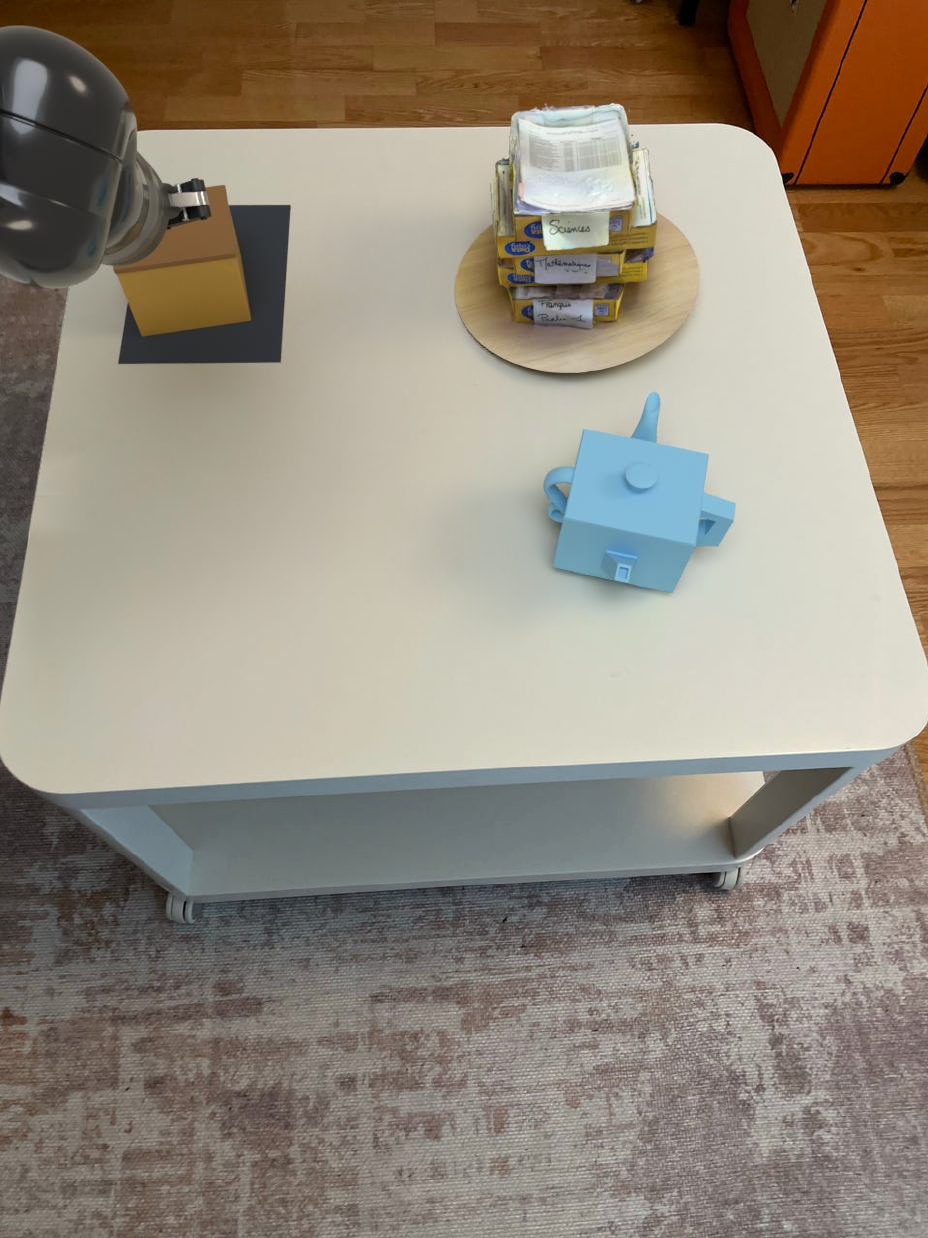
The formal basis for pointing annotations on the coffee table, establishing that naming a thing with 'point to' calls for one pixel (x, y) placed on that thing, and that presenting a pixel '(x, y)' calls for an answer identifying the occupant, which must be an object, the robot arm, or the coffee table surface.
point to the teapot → (634, 507)
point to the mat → (265, 282)
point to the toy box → (190, 276)
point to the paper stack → (575, 248)
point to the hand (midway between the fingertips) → (136, 220)
